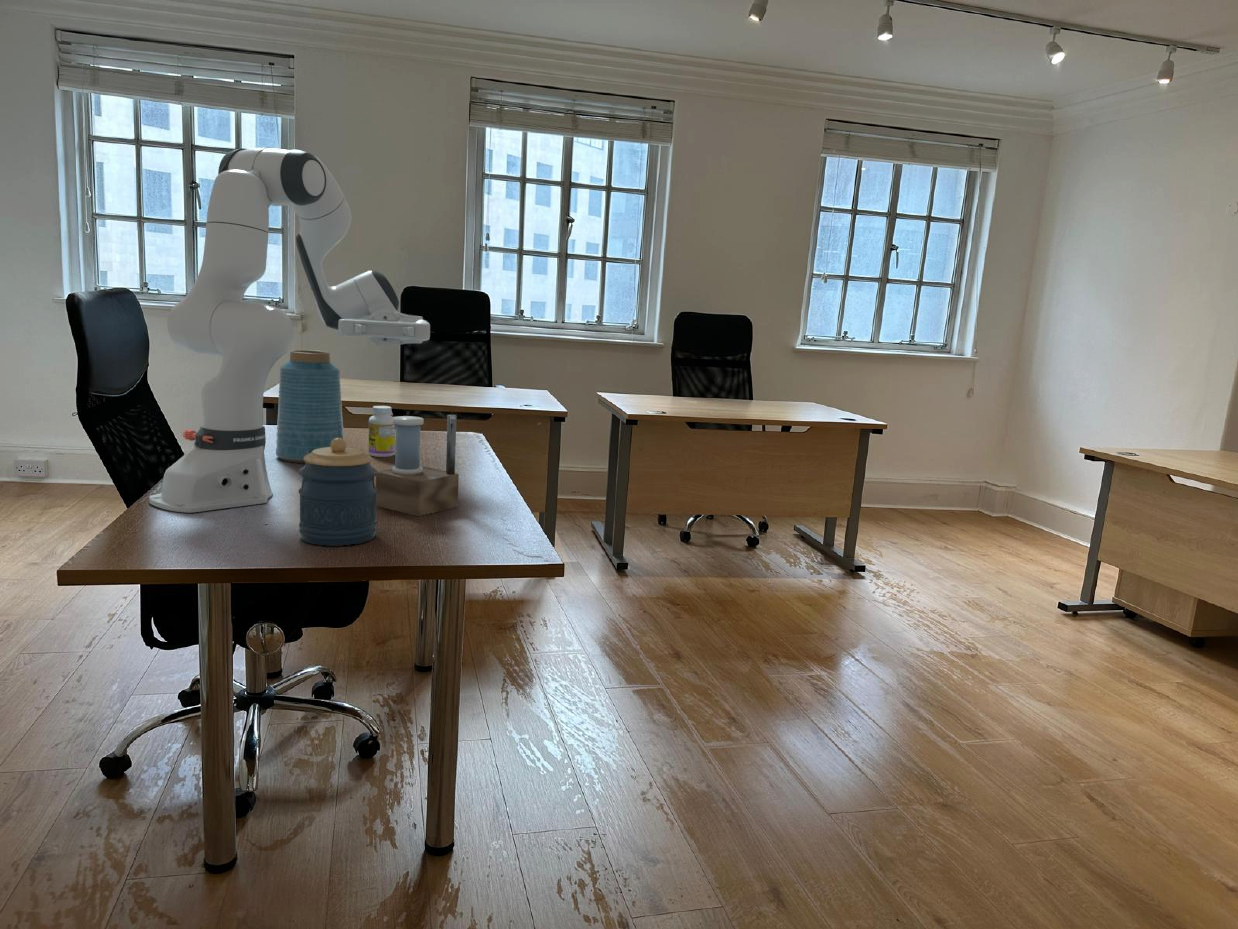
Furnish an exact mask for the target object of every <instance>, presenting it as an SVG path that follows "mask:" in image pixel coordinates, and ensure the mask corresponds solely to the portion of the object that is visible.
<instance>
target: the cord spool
mask: <svg viewBox="0 0 1238 929" xmlns="http://www.w3.org/2000/svg"><path fill="white" fill-rule="evenodd" d="M392 417H393V424H395V453H394V456H395V457H394V458H395V459H394V460H395V462H394V464H395V465H393V466H392V467H391V469H392V473H394V474H399V475H417V474H421V473H422V471H423V467H422V466H423V465H420V464H421V462H420V459H421V456H420V455H421V426H422V425H424V422H425V421H424V418H423V417H420V416H409V415H403V416H402V415H401V416H399V415H398V416H392Z"/></svg>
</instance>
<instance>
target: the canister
mask: <svg viewBox="0 0 1238 929" xmlns="http://www.w3.org/2000/svg"><path fill="white" fill-rule="evenodd" d="M304 461H305V462H306V463H305V465H304V466H302V467H300V469H299V470H298V472H297V473H298V475H299V476H300V477H301V486H300V488H298V494H299V523H298V527H299V528H298V532H299V534H300V539H301V540H302V541H303V542H305V543H307V544H310V545H315V544H318V545H317V546H322V545H326V546H325V547H344V546H343V545H347V546H352V545H351V544H355V545H360V544H364V543H367V542H369V541H371V540H372V539H374V538H375V536H376V532H377V529H378V528H377V525H378V524H377V506H376V492H377V489H376V485H375V478H376V474H377V472H378V470H377V469H376V468H375V467H374V466H372V465H371V462H372V461H373V456H371V455H369V453H366V452H365V451H364V450H363V449H360V448H358V447H357V448H356V447H349V446H347V443H346V441H345V439H344V438H343V439H342V438H335V439H333V440H332V441H331V444H330V447H326V448H319V449H315V450H313V451H312V452H311V453H310V454H308V455H306V456H305V457H304ZM366 541H367V542H366ZM363 542H364V543H363Z"/></svg>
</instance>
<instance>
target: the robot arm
mask: <svg viewBox="0 0 1238 929" xmlns="http://www.w3.org/2000/svg"><path fill="white" fill-rule="evenodd" d="M217 170H218V172H217V176H216V177H215V179H214V181H213V184H212V189H211V192H210V196H209V202H208V205H207V206H208V208H207V212H206V221H205V222H206V224H205V225H206V226H205V238H204V246H203V255H202V262H201V266H200V270H199V271H198V272H199V273H198V275H197V276H196V279H195V281H194V284H193V285H192V287H191V289H190V290H189V291H188V293H187V294H186V296H185V297H184V298H182V300H180V301H179V302H177V303H176V304H174V306H173V307H172V308H171V309H170V311H169V313H168V317H167V324H166V325H167V327H166V328H167V330H168V332H167V333H168V334H169V337H170V338H171V340H172V342H173V343H174V344H176V345H177V347H180V348H182V349H184V350H187V351H190V352H193V353H195V354H199V355H205V356H206V355H207V356H215V357H216V356H218V357H222V361H221V366H220V369H219V370H218V371H219V372H218V373H217V375H216V376H215V377H213V378H211V379H210V380H208V381H207V382H206V383H204V385H203V386H202V388H201V392H200V393H201V394H200V395H201V421H202V422H201V423H202V424H201V426H200V428H199V430H198V431H196V430H191V429H189V428H188V429H185V430H184V431H183V432H182V438H184V440H187V441H192V442H193V441H194V443H193V445H194V446H193V447H192V448H191V449H189V450H188V451H187V452H186V453H185V454H183V455H182V456H181V457H180V458H178V460H177V461H176V462H174V463H172V465H171V466H169V467H168V468H167V469H166V470H165V472H164V474H163V478H162V485H161V492H160V493H156V494H152V495H149V498H148V502H149V504H150V505H152V506H154V507H156V508H160V509H162V510H166V511H170V512H178V513H186V514H187V513H189V514H192V513H197V512H198V513H201V512H207V511H208V512H209V511H216V510H222V509H229V508H237V507H245V506H252V505H260V504H265V503H267V502H268V500H269V498H270V497H272V496H273V494H274V493H273V490H272V487H271V484H270V480H269V477H268V471H267V464H266V456H265V448H266V442H267V441H266V439H267V438H266V426H264V424H263V423H264V417H263V416H264V406H263V405H264V391H265V387H266V386H265V385H266V383H267V382H266V381H267V379H268V376H269V375H270V372H271V370H272V368H273V366H274V365H275V364H276V362H277V361H278V360H279V359H280V358H282V357H283V356H285V355H286V354H287V353H288V351H289V350H290V349H291V346H292V344H293V342H294V338H295V330H294V325H293V322H292V320H291V318H290V316H289V315H288V314H287V313H286V312H285V311H284V310H282V309H280V308H277V307H275V306H272V305H269V304H265V303H262V302H255V301H253V302H252V301H243V299H244V295H245V294H246V292H247V290H248V289H249V287H250V286H251V285H253V283H255V282H257V281H258V280H260V279H262V277H263V276H264V275H265V272H266V269H267V260H268V259H267V258H268V244H269V230H270V228H269V227H270V222H269V221H270V214H269V208H270V207H271V206H272V207H273V206H274V207H286V206H287V207H288V206H291V207H292V209H293V211H294V212H295V215H296V216H297V218H298V220H299V232H298V234H297V235H296V236H295V244H296V247H297V252H298V254H299V257H300V261H301V265H302V267H303V270H304V272H305V275H306V277H307V281H308V283H309V285H310V288H311V291H312V293H313V297H314V301H315V307H316V308H315V309H316V312H317V314H318V317H319V319H320V320H321V321H322V323H323V324H324V325H325V327H327V328H329V329H332V330H336V331H338V335H340V336H343V337H344V336H345V337H361V338H362V337H365V338H369V340H370V341H371V342H372V343H373V344H375V346H379V347H383V348H389V347H393V346H394V347H396V346H400V345H409V344H411V345H412V344H416V345H417V344H422V343H423V342H425V341H429V340H430V337H431V324H430V322H428V320H425V319H424V318H423V316H419V315H416V314H415V315H413V314H408V313H402V312H399V311H398V310H399V306H400V301H399V298H398V296H397V293H396V291H395V290H394V288H393V286H392V284H391V283H390V281H389V280H388V279H387V277H386V276H385V275H384V274H383V273H381V272H379V271H376V270H374V269H369V270H368V271H367V270H366V271H365V272H362V273H360V274H358V275H355V276H354V277H352V278H350V279H348V280H345V281H342V282H341V283H339V284H336V285H332V286H330V285H329V284H328V281H327V278H326V274H325V272H324V269H323V261H324V260H325V258H326V257H327V255H328V254H329V253H330V252H331V251H332V250H333V248H335V247H336V246H337V245H338V244H339V243H340V242H341V241H342V240H343V239H344V238H345V237H346V236H347V233H348V232H349V229H350V227H351V224H352V218H353V217H352V212H351V209H350V208H351V207H350V205H349V203H348V201H347V199H346V196H345V194H344V192H343V191H342V189H341V187H340V185H339V183H338V182H337V180H336V179H335V177H334V176H333V174H332V172H330V170H329V169H328V168H327V166H326V165H325V164H324V163H323V161H322V160H321V159H320V158H318V156H315V155H314V154H313V153H311V152H308V151H304V150H300V149H284V148H274V147H254V148H237V149H233V150H231V151H229V152H227V153H225V154H224V156H223V157H222V159H221V160H220V163H219V166H218V169H217Z"/></svg>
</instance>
